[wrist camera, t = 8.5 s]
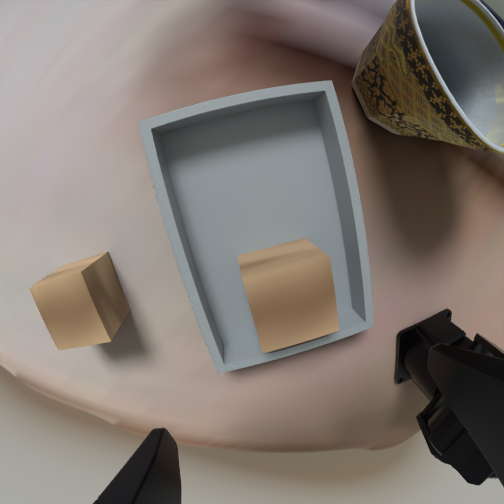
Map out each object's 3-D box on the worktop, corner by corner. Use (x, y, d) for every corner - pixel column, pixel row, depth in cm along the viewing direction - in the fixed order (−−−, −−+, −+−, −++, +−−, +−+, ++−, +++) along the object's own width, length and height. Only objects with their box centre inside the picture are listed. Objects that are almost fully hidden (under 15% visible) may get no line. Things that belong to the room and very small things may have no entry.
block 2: (316, 299, 20) (339, 330, 15) (253, 316, 19) (262, 353, 15) (305, 237, 18) (329, 256, 14) (237, 255, 18) (242, 280, 14)
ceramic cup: (422, 177, 19) (524, 189, 9) (311, 117, 17) (394, 69, 7) (446, 55, 16) (523, 29, 7) (354, -6, 14) (415, -69, 5)
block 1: (130, 309, 19) (111, 341, 15) (83, 320, 19) (58, 350, 15) (108, 251, 18) (81, 271, 14) (61, 266, 18) (29, 288, 13)
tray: (356, 308, 21) (373, 326, 18) (217, 349, 20) (218, 373, 18) (315, 93, 17) (331, 80, 14) (151, 130, 16) (138, 122, 13)
